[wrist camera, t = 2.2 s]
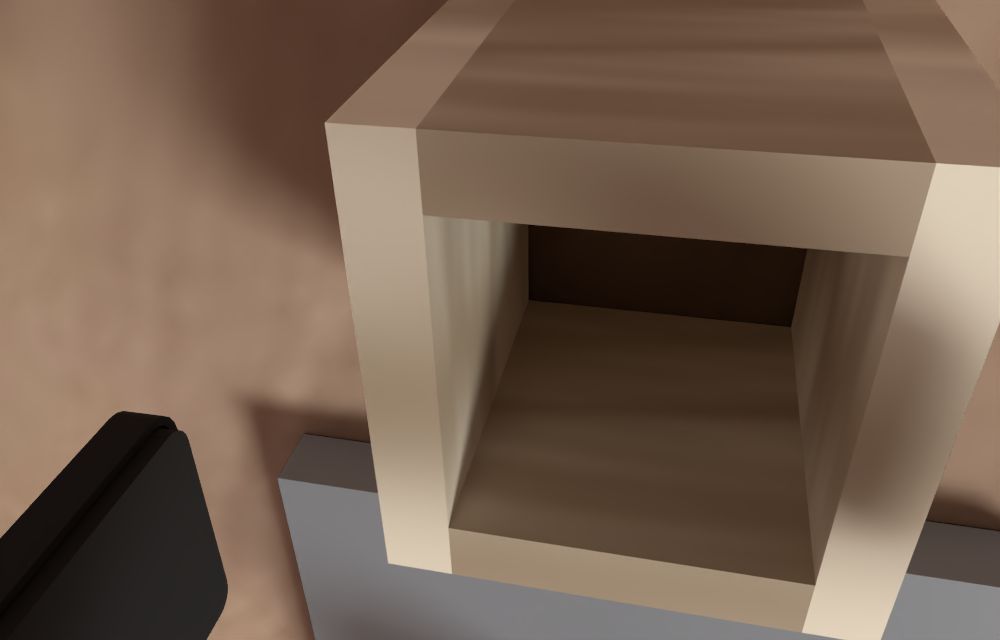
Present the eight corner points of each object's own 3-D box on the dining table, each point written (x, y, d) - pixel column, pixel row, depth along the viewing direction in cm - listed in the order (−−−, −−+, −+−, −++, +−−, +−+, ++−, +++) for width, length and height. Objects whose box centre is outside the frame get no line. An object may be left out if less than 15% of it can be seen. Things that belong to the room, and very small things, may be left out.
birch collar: (466, -19, 14) (325, 123, 9) (932, -3, 13) (1056, 170, 8) (481, 335, 18) (388, 563, 13) (836, 375, 17) (878, 644, 12)
